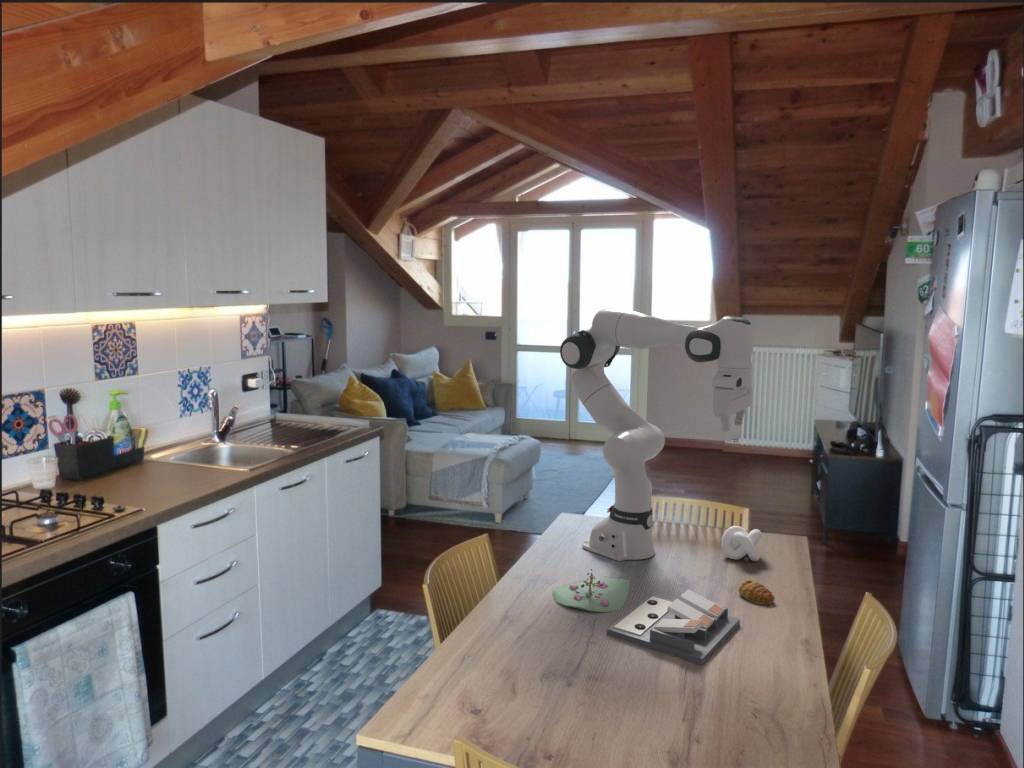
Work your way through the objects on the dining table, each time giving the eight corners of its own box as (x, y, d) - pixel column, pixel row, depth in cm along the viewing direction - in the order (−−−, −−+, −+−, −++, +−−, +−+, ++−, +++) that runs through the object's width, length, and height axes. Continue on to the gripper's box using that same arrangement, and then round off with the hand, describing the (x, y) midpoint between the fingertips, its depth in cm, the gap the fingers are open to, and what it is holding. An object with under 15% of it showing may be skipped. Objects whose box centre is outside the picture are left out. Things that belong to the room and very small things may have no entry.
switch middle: (666, 610, 187) (668, 605, 187) (675, 602, 191) (677, 598, 191) (704, 631, 182) (706, 626, 182) (712, 623, 186) (714, 618, 186)
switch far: (678, 600, 193) (680, 595, 193) (687, 593, 197) (688, 588, 197) (715, 620, 188) (717, 615, 187) (723, 612, 192) (725, 608, 191)
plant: (583, 571, 226) (583, 541, 225) (649, 588, 215) (650, 556, 214) (538, 602, 205) (539, 570, 204) (609, 622, 194) (610, 588, 193)
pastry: (780, 602, 205) (781, 589, 205) (763, 608, 202) (763, 594, 201) (752, 589, 213) (753, 576, 213) (735, 595, 210) (735, 582, 209)
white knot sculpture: (771, 564, 230) (773, 535, 229) (733, 567, 228) (734, 537, 227) (754, 550, 241) (755, 523, 240) (717, 552, 240) (718, 525, 238)
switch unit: (606, 634, 187) (607, 619, 186) (650, 599, 206) (651, 585, 206) (702, 665, 173) (702, 648, 172) (739, 624, 192) (740, 609, 192)
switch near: (655, 631, 182) (653, 626, 182) (664, 623, 186) (663, 618, 186) (694, 632, 176) (693, 627, 176) (703, 624, 180) (702, 619, 180)
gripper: (736, 371, 218) (734, 420, 220) (709, 381, 201) (707, 433, 203) (758, 373, 214) (756, 422, 216) (733, 383, 198) (730, 436, 200)
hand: (732, 428), depth 210 cm, fingers open, 8 cm apart
